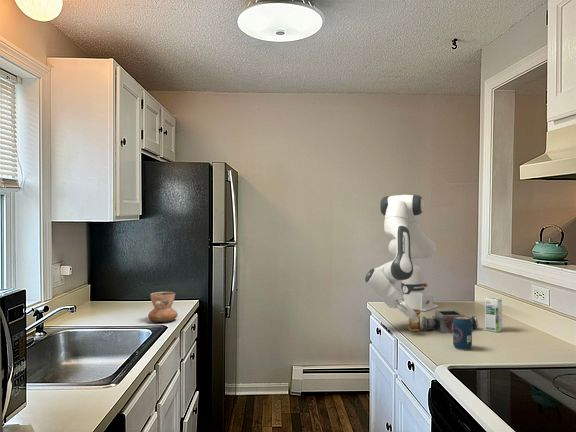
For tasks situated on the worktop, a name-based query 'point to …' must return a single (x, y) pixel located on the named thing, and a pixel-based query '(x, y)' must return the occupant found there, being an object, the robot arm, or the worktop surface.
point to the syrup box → (493, 314)
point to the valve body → (445, 321)
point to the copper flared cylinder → (415, 325)
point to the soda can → (462, 332)
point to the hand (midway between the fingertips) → (415, 319)
